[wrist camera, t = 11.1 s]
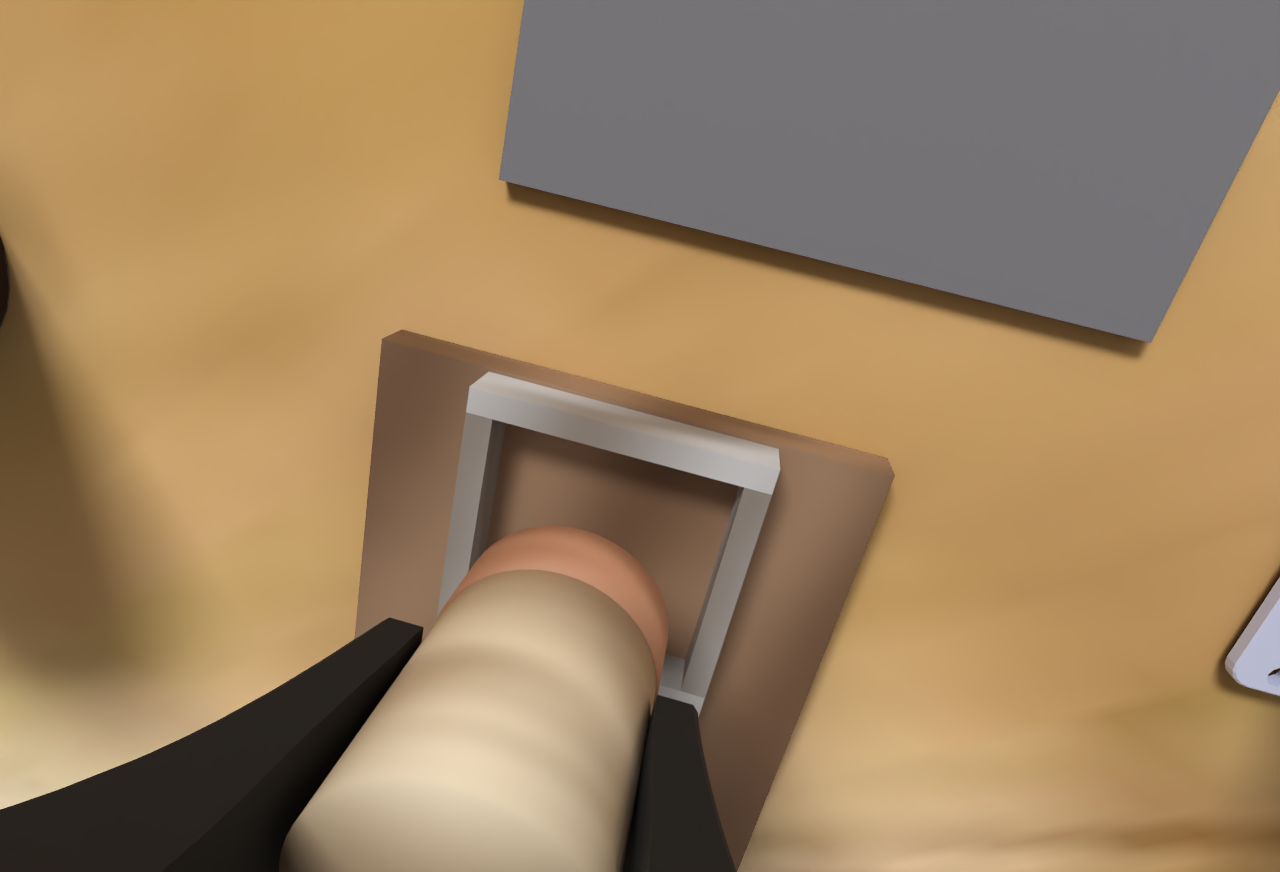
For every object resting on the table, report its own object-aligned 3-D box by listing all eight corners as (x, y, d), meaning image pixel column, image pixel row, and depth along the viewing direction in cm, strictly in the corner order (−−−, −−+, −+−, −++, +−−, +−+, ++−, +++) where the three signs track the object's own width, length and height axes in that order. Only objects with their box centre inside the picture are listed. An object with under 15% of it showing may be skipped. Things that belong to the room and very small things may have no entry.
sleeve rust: (641, 730, 15) (573, 1072, 9) (449, 674, 15) (267, 974, 9) (692, 560, 13) (648, 843, 8) (478, 500, 13) (283, 732, 8)
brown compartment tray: (887, 458, 17) (904, 498, 15) (727, 865, 22) (725, 936, 20) (401, 329, 18) (355, 351, 16) (358, 754, 23) (319, 811, 21)
